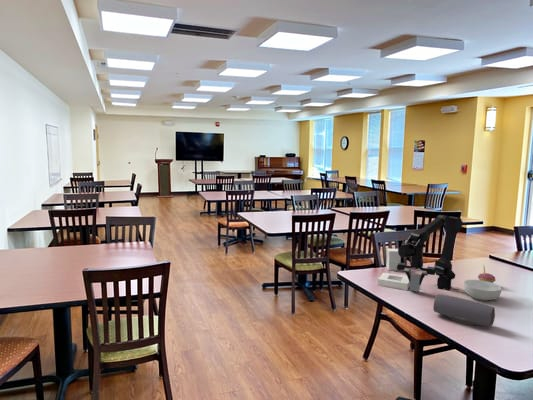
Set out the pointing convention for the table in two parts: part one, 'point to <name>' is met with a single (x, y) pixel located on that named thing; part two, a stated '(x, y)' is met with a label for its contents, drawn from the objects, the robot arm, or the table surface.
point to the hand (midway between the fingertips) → (415, 284)
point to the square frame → (394, 281)
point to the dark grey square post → (415, 282)
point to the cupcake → (486, 276)
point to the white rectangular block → (393, 259)
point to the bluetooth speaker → (464, 310)
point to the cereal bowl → (482, 289)
